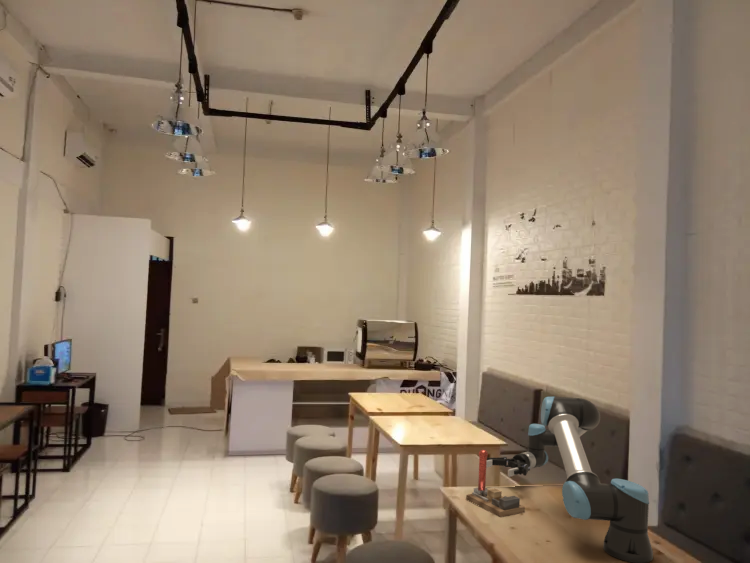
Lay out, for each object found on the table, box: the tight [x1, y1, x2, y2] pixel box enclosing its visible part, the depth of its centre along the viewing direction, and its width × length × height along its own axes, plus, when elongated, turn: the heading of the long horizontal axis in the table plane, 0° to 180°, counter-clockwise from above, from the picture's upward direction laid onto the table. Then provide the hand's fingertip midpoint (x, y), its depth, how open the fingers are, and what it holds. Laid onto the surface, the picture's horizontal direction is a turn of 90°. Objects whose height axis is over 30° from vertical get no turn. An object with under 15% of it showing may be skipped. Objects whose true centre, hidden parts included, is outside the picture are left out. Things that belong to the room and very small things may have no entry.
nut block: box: [487, 487, 503, 502], centre depth 221 cm, size 4×4×4 cm
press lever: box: [473, 449, 489, 498], centre depth 227 cm, size 7×5×18 cm
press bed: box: [465, 491, 526, 518], centre depth 221 cm, size 20×13×6 cm, turn 31°
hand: (495, 469), depth 234 cm, fingers open, 13 cm apart
